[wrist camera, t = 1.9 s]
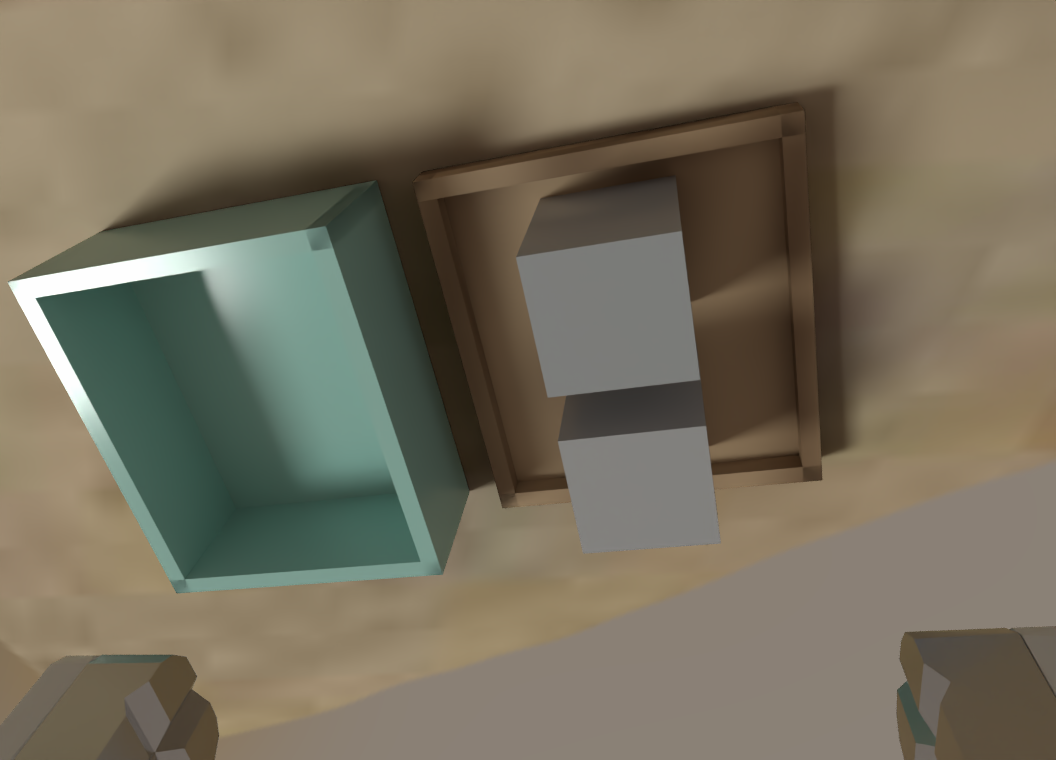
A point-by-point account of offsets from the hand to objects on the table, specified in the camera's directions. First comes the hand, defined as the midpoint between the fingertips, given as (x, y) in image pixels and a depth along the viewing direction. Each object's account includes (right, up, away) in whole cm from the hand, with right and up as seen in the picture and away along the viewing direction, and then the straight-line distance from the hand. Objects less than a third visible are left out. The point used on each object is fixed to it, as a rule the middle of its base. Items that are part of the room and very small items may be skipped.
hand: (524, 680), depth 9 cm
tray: (+3, +5, +17) cm, 18 cm away
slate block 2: (+4, +3, +18) cm, 18 cm away
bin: (-8, +4, +19) cm, 21 cm away
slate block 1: (+3, +7, +15) cm, 17 cm away
